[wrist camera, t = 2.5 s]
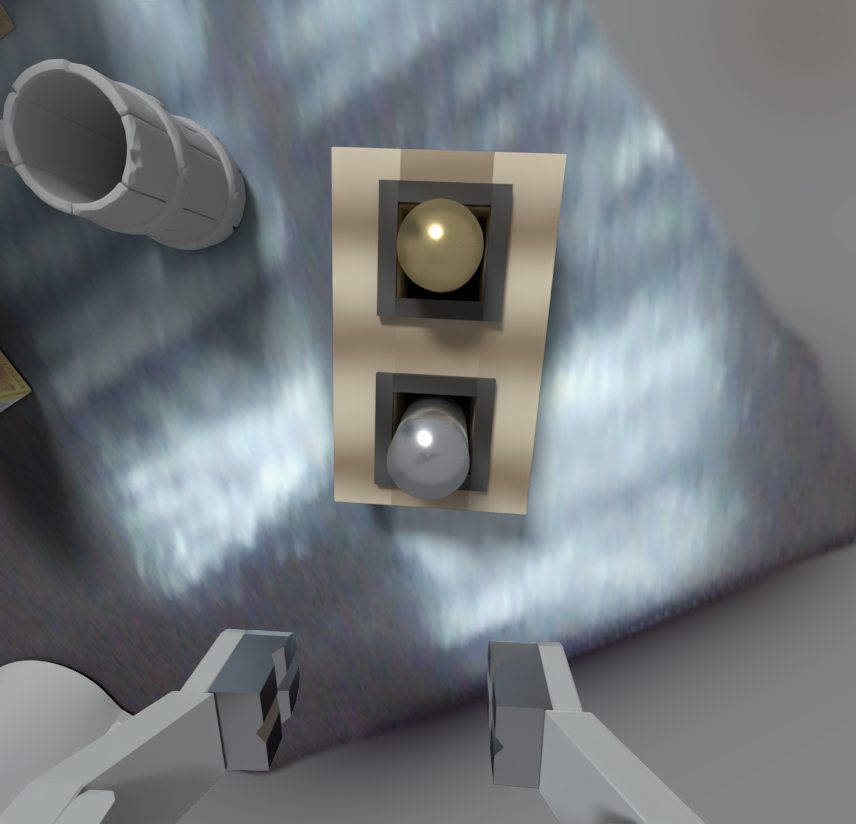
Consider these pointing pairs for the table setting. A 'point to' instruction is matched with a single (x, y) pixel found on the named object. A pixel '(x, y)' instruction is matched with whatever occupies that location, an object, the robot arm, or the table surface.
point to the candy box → (10, 384)
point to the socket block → (441, 317)
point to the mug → (119, 157)
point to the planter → (5, 22)
